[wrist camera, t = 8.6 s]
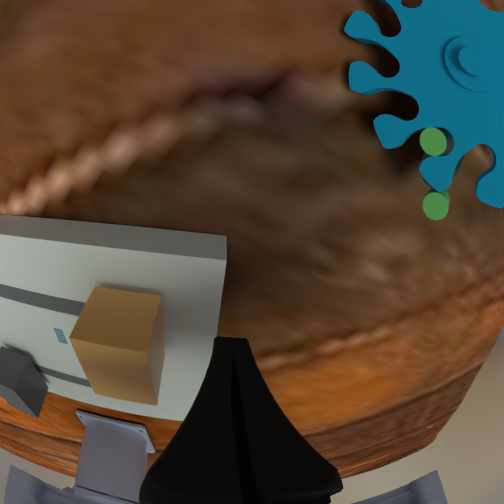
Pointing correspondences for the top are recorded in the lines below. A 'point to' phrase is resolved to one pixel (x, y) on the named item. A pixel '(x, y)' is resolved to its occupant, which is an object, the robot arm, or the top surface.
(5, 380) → the black fader
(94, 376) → the tan fader
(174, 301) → the fader panel
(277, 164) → the top surface
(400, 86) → the gear
